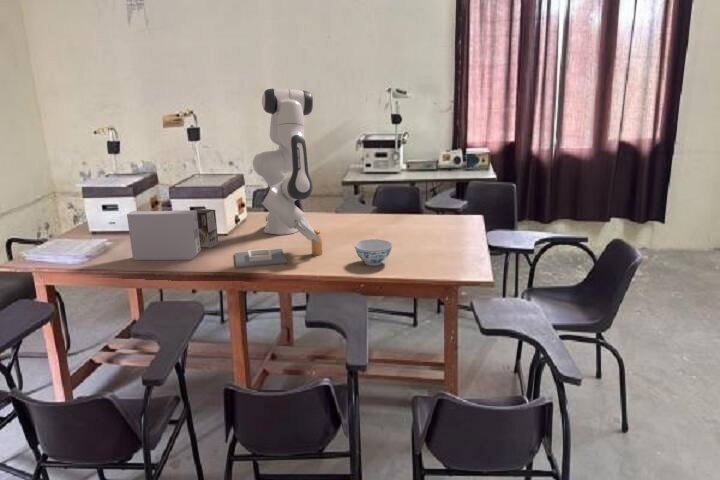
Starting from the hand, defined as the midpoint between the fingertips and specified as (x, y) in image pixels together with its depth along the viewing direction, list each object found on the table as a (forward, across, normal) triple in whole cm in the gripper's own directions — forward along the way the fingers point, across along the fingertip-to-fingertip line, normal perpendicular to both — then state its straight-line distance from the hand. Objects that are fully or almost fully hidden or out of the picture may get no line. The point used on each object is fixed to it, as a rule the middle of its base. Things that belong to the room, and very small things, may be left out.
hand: (318, 238), depth 248 cm
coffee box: (-28, +27, +38) cm, 54 cm away
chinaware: (+19, -18, -9) cm, 27 cm away
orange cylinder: (+4, 0, +5) cm, 7 cm away
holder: (-13, 0, +22) cm, 25 cm away
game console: (-39, +13, +49) cm, 64 cm away
